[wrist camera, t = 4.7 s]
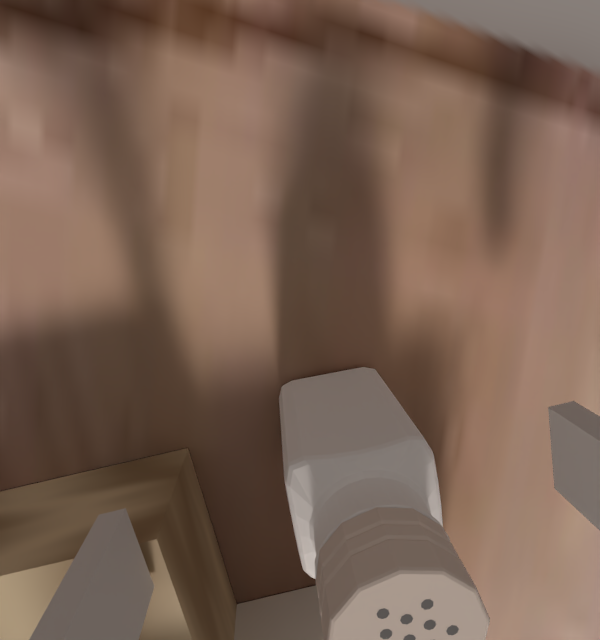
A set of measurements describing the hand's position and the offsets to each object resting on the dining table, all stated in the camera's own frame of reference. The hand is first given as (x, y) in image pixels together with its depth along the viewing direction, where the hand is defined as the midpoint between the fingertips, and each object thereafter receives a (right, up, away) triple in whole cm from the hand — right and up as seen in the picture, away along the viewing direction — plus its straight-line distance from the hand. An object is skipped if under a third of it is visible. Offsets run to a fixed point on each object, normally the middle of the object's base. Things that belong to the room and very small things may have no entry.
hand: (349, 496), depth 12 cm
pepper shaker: (0, +1, +5) cm, 5 cm away
